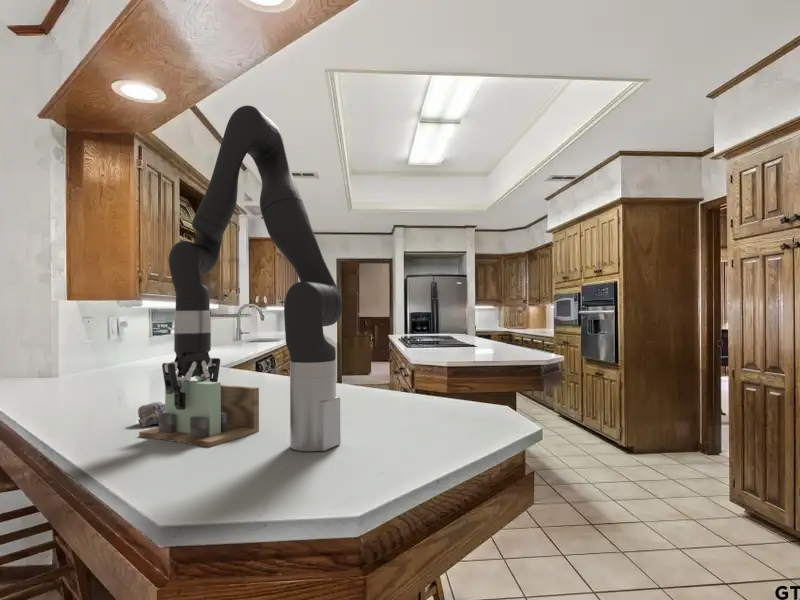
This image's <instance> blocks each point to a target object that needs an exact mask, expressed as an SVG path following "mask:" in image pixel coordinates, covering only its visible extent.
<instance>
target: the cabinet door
mask: <svg viewBox="0 0 800 600" xmlns="http://www.w3.org/2000/svg"><path fill="white" fill-rule="evenodd" d="M221 385H222V382H220V381H219V382H206V381H198V380H191V379H190V382H188V383H187V386H186V389H185V391H184V392H186V407H185V409H183V410H178V409H176V407H175V406H174V392H173V391H170V390H166V388H164V389H165V390H164V394H165V395H164V404H165V413H169V414H175V431H176V432H184V433H190V417H193V416H196V417H204V418H207V436H212V435H215V434H218V433H221Z"/></svg>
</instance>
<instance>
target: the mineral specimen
mask: <svg viewBox="0 0 800 600" xmlns="http://www.w3.org/2000/svg"><path fill="white" fill-rule="evenodd" d="M137 410H138V411H137V414H138V418H139V419H138V420H137V421H138V424H139V426H141V427H143V428H144V427H149V426H152V425H157V424H158V425H159V413H165V403H163V402H162V401H154V402H150V403H148V404H143V405H141V406H139V407H138V409H137Z"/></svg>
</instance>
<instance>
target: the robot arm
mask: <svg viewBox="0 0 800 600" xmlns="http://www.w3.org/2000/svg"><path fill="white" fill-rule="evenodd" d="M217 154H218V155H217V156H216V157H217V158H216V159H215V164H214V168H213V172H212V174H211V178H210V182H209V184H208V186H207V189H206V192H205V194H204V195H203V197H202V200H201V202H200V203H199V206H198V208H197V210H196V212H195V214H194V217H193V219H192V222H191V227H192V228H193V230H194V231H195V232H196V234H195V238H194V242H193V241H189V240H180V241H178V242H176V243H175V244H174V245H173V246H172V247H171V250H170V252H169V255H168V267H169V272H170V276H171V281H172V284H173V288H174V292H175V315H174V320H173V321H174V322H173V323H174V325H173V327H174V328H173V335H174V336H173V338H174V340H173V341H174V344H173V348H174V349H173V350H174V353H175V359H174V361H172V362H171V361H170V362H163V363H162V364H161V367H162V375H163V381H164V382H163V383H164V387H165V388H166V390H170V391H173V392H174V406H175V407H176V409H178V410H183V409H185V407H186V392H184V391H185V389H186V386H187V383H188V382H190V380H191V379H192V378H195V380H196V381H206V382H218V380H219V373H220V366H221V359H220V358H218V357H210V353H209V352H211V348H212V337H211V336H212V335H211V334H212V321H211V313H210V309H211V307H210V305H211V304H210V302H211V301H210V299H211V298H210V297H211V296H210V290H209V287H207V286H206V285H204V284H203V283H202V279H201V276H202V275H203V276H204V275H206V274H208V273H210V271H212V270H213V268H214V267H215V266H216V264H217V262H218V258H219V256H220V250H221V246H222V242H223V235H224V233H225V232H226V230H227V228H228V226H229V223H230V221H231V220H232V217H233V215H234V212H235V210H236V206H237V201H238V189H239V188H238V187H239V185H238V184H239V177H240V170H241V166H242V164H243V162H244V159H245V157H246V155H247V154H248V155H249V156H250V157H251V158H252V160H253V162H254V163H255V166H256V169H257V171H258V174H259V176H260V180H261V191H260V195H259V209H260V212H261V216H262V219H263V222H264V225H265V228H266V231H267V233H268V236H269V238H270V239H271V240H272V242H273V243H274V245H275V246H276V247H277V249H278V250H279V251H280V252H281V254H282V256H284V257H285V258H286V259H287V261H288V262H289V263H290V264H291V266H292V267H293V268H294V270H295V272H296V275H297V277H298V280H299V281H297V282H296V283H293V284H292V285H291V286H290V287H289V289H288V290H287V292H286V294H285V298H284V305H283V317H284V335H285V344H286V348H287V350H288V353H289V415H290V416H289V428H290V433H289V434H290V435H289V438H290V443H289V445H290V448H291V449H292V450H294V451H298V452H326V451H327V450H330V449H331V448H335V447H337V446H339V445H340V444H342V443H341V442H342V441H341V439H342V437H341V435H342V434H341V398H340V397H339V396H337V378H336V377H337V374H336V373H337V372H336V371H337V369H336V368H337V364H336V362H337V360H336V359H337V351H336V347H335V346H334V345H333V344H332V343H330V342H328V341H327V339H326V338H325V335H324V327H329V326H333V325H335V324H336V323H337V322H338V321H339V320H340V318H341V316H342V313H343V298H342V296H341V292H340V290H339V288H338V286H337V284H336V282H335V280H334V278H333V275H332V274H331V272H330V270H329V268H328V265H327V263H326V262H325V259H324V256H323V254H322V251H321V249H320V246H319V243H318V240H317V238H316V236H315V233H314V229H313V228H312V224H311V220H310V218H309V215H308V212H307V209H306V207H305V204H304V201H303V199H302V197H301V194H300V191H299V189H298V186H297V183H296V180H295V178H294V176H293V173H292V171H291V168H290V165H289V160H288V157H287V153H286V148H285V144H284V140H283V136H282V133H281V130H280V129H279V127H278V126H277V125H276V124H275V122H273V121H272V119H270V118H269V117H268V116H267V115H265V114H264V113H263V112H262V111H261V110H259V109H258V107H256V106H253V105H243V106H240V107H238V108H237V109H235V110H234V111H233V113H232V114H231V115H230V117H229V120H228V122H227V124H226V126H225V129H224V133H223V137H222V139H221V144H220V147H219V151H218V153H217ZM165 388H164V389H165Z"/></svg>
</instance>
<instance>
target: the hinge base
mask: <svg viewBox="0 0 800 600" xmlns="http://www.w3.org/2000/svg"><path fill="white" fill-rule="evenodd" d="M258 432H260V387H256V386H253V387H251V386H241V385H226V384H221V433H218V434H215V435H212V436H207V418H204V417H196V416H193V417H190V433H184V432H176V431H175V414H169V413H159V424H158V426H157V427H154V428H149V429H145V430H141V431H138V437H141V438H142V437H143V438H147V439H154V438H156V439H155V440H160V439H165V440H164V441H167V440H173V441H172V442H174V441H179V442H178V443H180V442H185V443H184V444H187V443H191V444H190V445H194V444H196V445H195V446H200V445H202V447H207V448H212V447H215V446H218V445H221V444H224V443H228V442H229V441H233V440H237V439H240V438H243V437H246V436H249V435H252V434H256V433H258Z"/></svg>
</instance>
